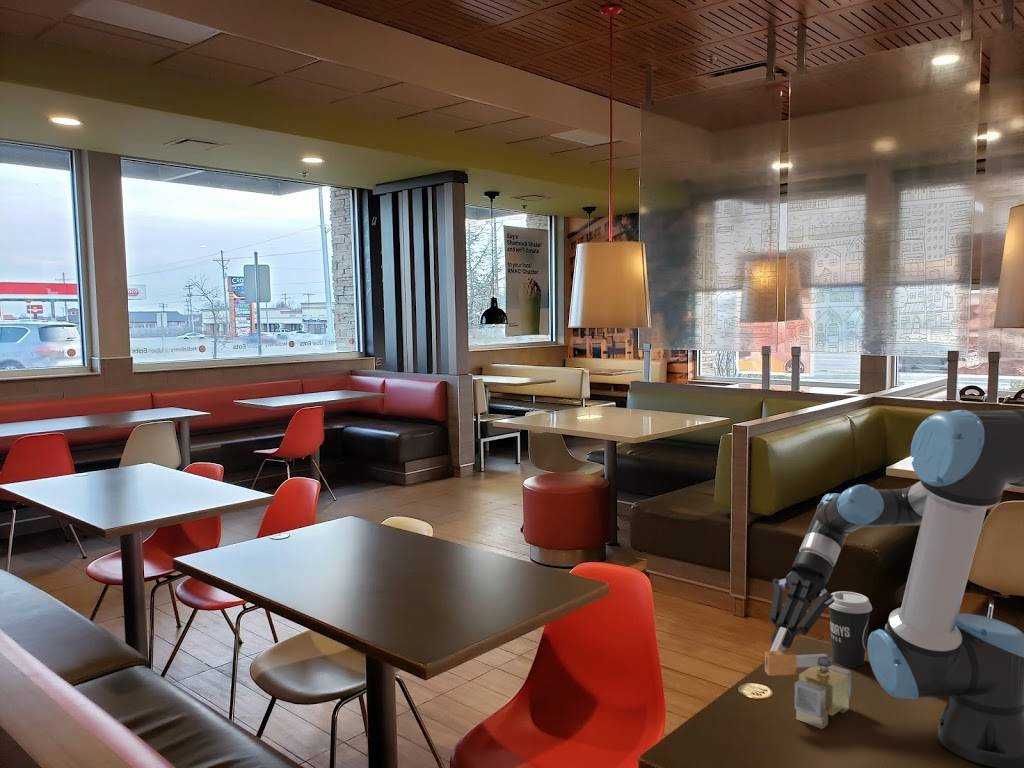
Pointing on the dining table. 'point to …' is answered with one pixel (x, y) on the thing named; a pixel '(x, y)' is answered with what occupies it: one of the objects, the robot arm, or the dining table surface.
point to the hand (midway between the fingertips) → (773, 659)
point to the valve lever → (794, 662)
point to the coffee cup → (849, 627)
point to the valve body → (822, 694)
